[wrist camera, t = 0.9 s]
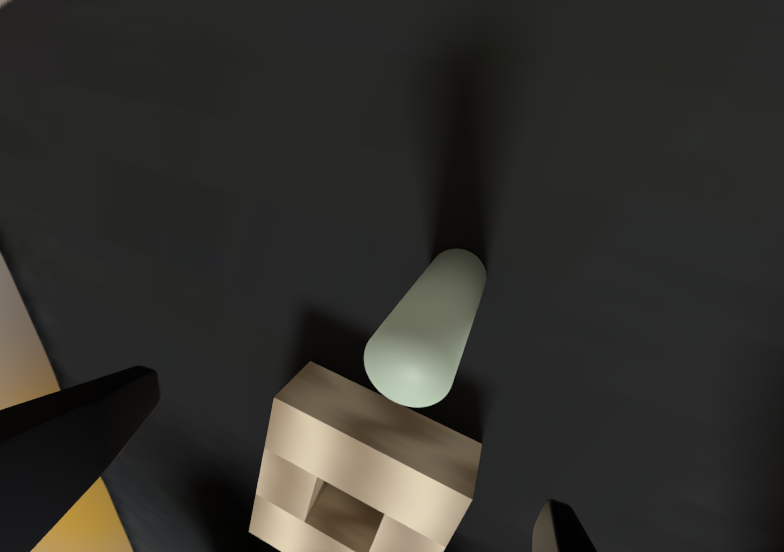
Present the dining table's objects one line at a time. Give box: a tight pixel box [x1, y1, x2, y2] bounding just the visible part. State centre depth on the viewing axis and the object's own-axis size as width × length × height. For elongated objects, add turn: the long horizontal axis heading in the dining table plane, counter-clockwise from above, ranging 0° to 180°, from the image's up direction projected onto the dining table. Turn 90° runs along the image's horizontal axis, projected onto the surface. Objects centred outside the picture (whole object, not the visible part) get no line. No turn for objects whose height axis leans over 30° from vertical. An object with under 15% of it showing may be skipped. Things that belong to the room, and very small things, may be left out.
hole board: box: [249, 361, 482, 552], centre depth 25 cm, size 12×13×4 cm
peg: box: [364, 249, 486, 407], centre depth 16 cm, size 3×3×9 cm
